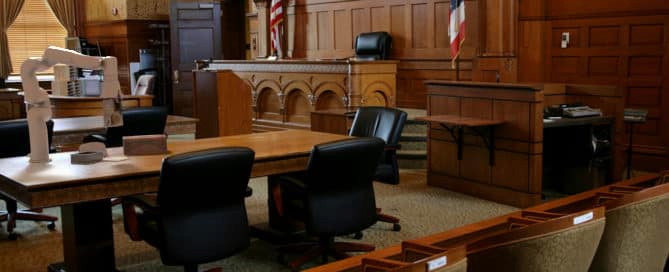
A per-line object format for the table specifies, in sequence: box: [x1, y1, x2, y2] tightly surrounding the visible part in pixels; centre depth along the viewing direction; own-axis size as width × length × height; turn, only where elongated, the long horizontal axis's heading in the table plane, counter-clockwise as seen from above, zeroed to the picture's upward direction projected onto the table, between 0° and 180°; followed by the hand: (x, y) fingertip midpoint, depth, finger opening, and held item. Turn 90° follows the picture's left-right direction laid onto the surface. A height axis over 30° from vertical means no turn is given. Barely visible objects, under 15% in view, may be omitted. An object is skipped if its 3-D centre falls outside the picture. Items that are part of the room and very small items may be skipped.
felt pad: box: [99, 156, 131, 162], centre depth 407 cm, size 12×12×1 cm
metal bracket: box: [70, 151, 104, 165], centre depth 402 cm, size 11×14×5 cm
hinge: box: [78, 141, 109, 157], centre depth 421 cm, size 17×5×10 cm, turn 130°
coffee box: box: [101, 98, 124, 128], centre depth 404 cm, size 9×6×16 cm
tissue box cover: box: [122, 134, 168, 156], centre depth 438 cm, size 26×14×10 cm, turn 108°
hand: (112, 109), depth 404 cm, fingers closed on coffee box, 7 cm apart
